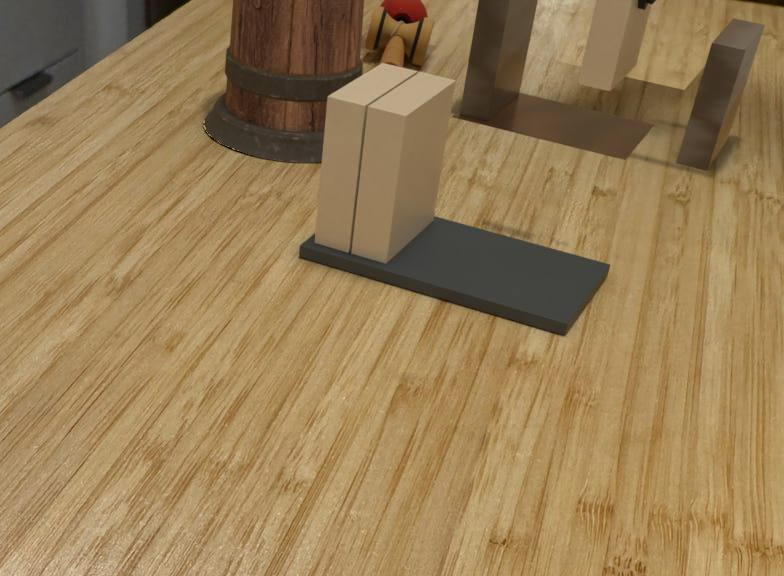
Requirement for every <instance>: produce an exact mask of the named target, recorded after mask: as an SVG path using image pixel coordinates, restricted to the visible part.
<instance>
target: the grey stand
mask: <svg viewBox="0 0 784 576" xmlns="http://www.w3.org/2000/svg"><path fill="white" fill-rule="evenodd" d="M538 2H539V1H538V0H478V2H477V8H476V14H475V21H474V26H473V32H472V38H471V45H470V50H469V51H470V52H469V57H468V63H467V68H466V69H467V70H466V76H465V81H464V87H463V92H462V99H461V105H460V109H459V110H458V111H457V112H456V113H454V114H452V115H451V118H453V119H459V120H462V121H465V122H470V123H474V124H478V125H483V126H486V127H490V128H495V129H498V130H502V131H507V132H510V133H514V134H518V135H522V136H527V137H531V138H534V139H539V140H542V141H546V142H551V143H554V144H559V145H563V146H568V147H571V148H575V149H578V150H583V151H586V152H591V153H596V154H599V155H603V156H607V157H612V158H616V159H620V160H624V161H626V160H627V159H628V158H629V156H630V155H631V154H632V153H633V152H634V150H635V149H637V147H638V146H639V144H640V143H641V142H642V141H643V140H644V139H645V137H646V136H648V134H649V133H650V131H651V130H652V129H653V128H654V127H655V123H654V124H653V123H649V122H645V121H641V120H636V119H632V118H629V117H628V118H627V117H624V116H619V115H615V114H611V113H607V112H602V111H598V110H594V109H589V108H586V107H581V106H577V105H574V104H569V103H565V102H561V101H557V100H552V99H548V98H544V97H539V96H536V95H531V94H526V93H522V92H521V88H522V83H523V77H524V72H525V68H526V63H527V57H528V52H529V46H530V43H531V36H532V32H533V26H534V22H535V16H536V11H537V8H538V7H537V6H538ZM764 29H765V24H764V23H759V22H754V21H748V20H744V19H738V18H732V19H731V20H730V21H729V23H728V24H727V25H726V26H725V27H724V28H723V30H722V31H721V32H720V33H719V34H718V35H717V36H716V37H715V39H714V40H713V41H712V42H711V45H710V48H709V52H708V55H707V58H706V61H705V64H704V68H703V71H702V74H701V78H700V80H699V85H698V88H697V91H696V95H695V99H694V101H693V105H692V108H691V112H690V115H689V119H688V122H687V125H686V128H685V131H684V135H683V139H682V142H681V144H680V148H679V152H678V155H677V158H676V162H675V164H677V165H681V166H685V167H690V168H693V169H697V170H702V171H706V172H707V171H709V169H710V168H711V166H712V165H713V163H714V161H715V160H716V159H717V157H718V156H719V154H720V152H721V151H722V150H723V148H724V147H725V145H726V143H728V140H729V137H730V134H731V130H732V128H733V124H734V121H735V118H736V115H737V112H738V109H739V106H740V103H741V100H742V97H743V94H744V91H745V88H746V84H747V81H748V79H749V76H750V72H751V69H752V66H753V63H754V60H755V57H756V54H757V51H758V49H759V45H760V41H761V39H762V35H763V32H764Z"/></svg>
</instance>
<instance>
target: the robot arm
mask: <svg viewBox="0 0 784 576" xmlns="http://www.w3.org/2000/svg"><path fill="white" fill-rule="evenodd" d="M656 1H657V0H638V9H643V10H645V9H646V7H647V5H648V4H652V5H653V4H654V3H655V2H656Z"/></svg>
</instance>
